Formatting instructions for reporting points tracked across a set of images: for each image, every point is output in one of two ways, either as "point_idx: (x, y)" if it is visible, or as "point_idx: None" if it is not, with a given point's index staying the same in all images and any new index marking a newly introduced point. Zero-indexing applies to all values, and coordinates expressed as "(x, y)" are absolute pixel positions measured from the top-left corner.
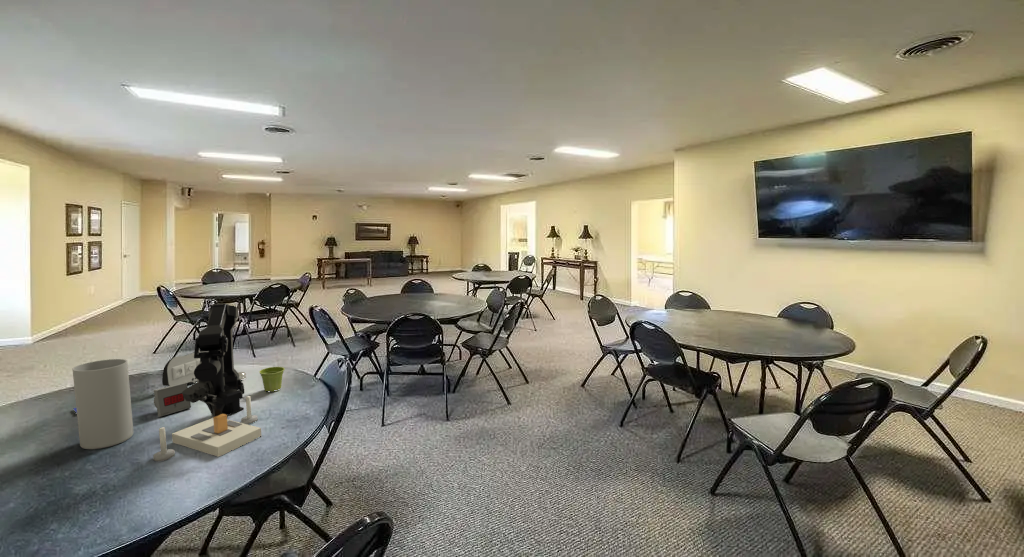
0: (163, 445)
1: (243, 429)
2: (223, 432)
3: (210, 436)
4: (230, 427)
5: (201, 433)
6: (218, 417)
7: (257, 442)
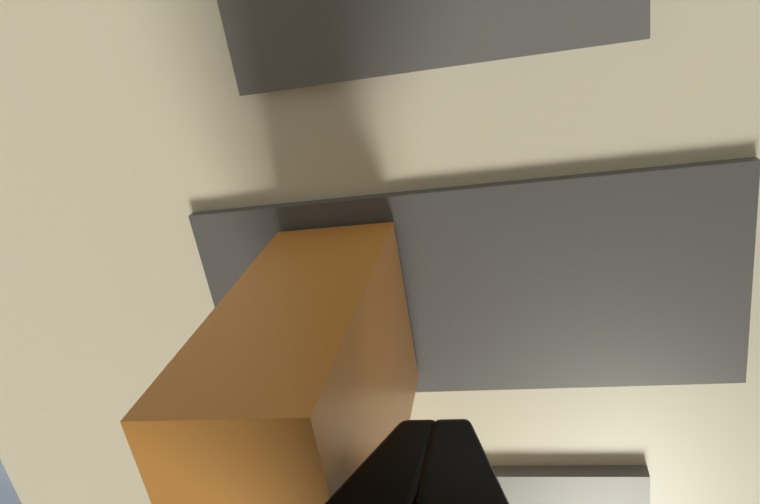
0: None
1: None
2: None
3: (253, 90)
4: None
5: (613, 79)
6: (165, 464)
7: None
